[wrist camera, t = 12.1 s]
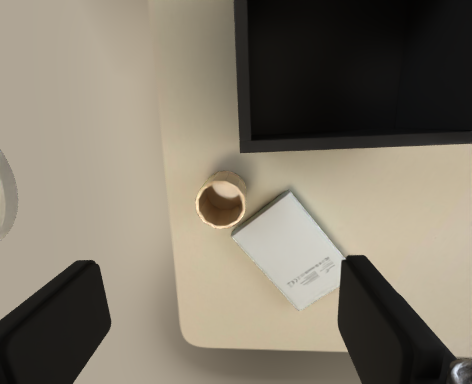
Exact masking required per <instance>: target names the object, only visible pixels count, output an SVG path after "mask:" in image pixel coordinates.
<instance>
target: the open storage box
mask: <svg viewBox="0 0 472 384" xmlns="http://www.w3.org/2000/svg"><path fill="white" fill-rule="evenodd" d="M234 22H235V46H236V70H237V93H238V117H239V140H240V153H256V152H280V151H305V150H329V149H353V148H377V147H402V146H426V145H450V144H472V0H234Z"/></svg>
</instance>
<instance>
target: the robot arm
mask: <svg viewBox="0 0 472 384" xmlns="http://www.w3.org/2000/svg"><path fill="white" fill-rule="evenodd" d="M110 327H111V318H110V313H109V308H108V304H107V299H106V294H105V290H104V285H103V280H102V276H101V272H100V267H99V265H98V264H96V263H95V261H93V260H79V261H76V262H74V263H73V264H71V265H70V266H69V267H68V268H66V269H65V270H64V271H63V272H61V273H60V274H59V275H58V276H56V277H55V278H54V279H52V280H51V281H50V282H48V283H47V284H46V285H45V286H43V287H42V288H41V289H40V290H38V291H37V292H36V293H34V294H33V295H32V296H31V297H29V298H28V299H27V300H25V301H24V302H23V303H22V304H20V305H19V306H18V307H16V308H15V309H14V310H13V311H11V312H10V313H9V314H8V315H6V316H5V317H4V318H2V319H1V320H0V384H73V382H74V381H75V380H76V378H77V377H78V375H79V374H80V372H81V371H82V369H83V368H84V366H85V365H86V364H87V362H88V361H89V359H90V357H91V356H92V355H93V353H94V352H95V350H96V349H97V347H98V346H99V345H100V343H101V342H102V340H103V339H104V337H105V336H106V334H107V333H108V331H109V330H110ZM338 327H339V331H340V333H341V336H342V338H343V340H344V343H345V345H346V347H347V350H348V352H349V354H350V357H351V359H352V361H353V364H354V366H355V368H356V371H357V373H358V375H359V377H360V380H361V382H362V384H472V359H468V358H464V359H457V358H456V357H455V356H454V355H453V354H452V353H451V352H450V350H449V349H448V348H447V347H446V346H445V345H444V344H443V343H442V341H441V340H440V339H439V338H438V337H437V336H436V335H435V333H434V332H433V331H432V330H431V329H430V328H429V327H428V325H427V324H426V323H425V322H424V321H423V320H422V319H421V318H420V316H419V315H418V314H417V313H416V312H415V311H414V310H413V308H412V307H411V306H410V305H409V304H408V303H407V302H406V300H405V299H404V298H403V297H402V296H401V295H400V294H399V293H397V292H396V291H395V289H394V288H393V287H392V286H391V285H390V284H389V283H388V281H387V280H386V279H385V278H384V277H383V276H382V275H381V273H380V272H379V271H378V270H377V269H376V268H375V267H374V265H373V264H372V263H371V262H370V261H369V260H368V258H367V257H366V256H364V255H348V256H347V257H346V259H344V260H342V261H341V274H340V290H339V306H338Z"/></svg>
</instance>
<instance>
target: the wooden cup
mask: <svg viewBox="0 0 472 384" xmlns="http://www.w3.org/2000/svg"><path fill="white" fill-rule="evenodd" d="M195 202H196V212H197V214H198V215H199V216H200V218H201V219H202V221H203V222H204V223H206V224H208V225H210V226H212V227H214V228H230V227H231V226H233V225H235V224H237V223H238V222H240V220H241V218H242V217H243V215H244V213H245V211H246V185H245V184H244V182H243V180H242V179H241V177H240V176H238V175H237V174H235V173H233V172H230V171H220V172H217V173H215V174H213V175H212V176H211V177H209V178H208V180H207V181H206V182H205V183H204V185H203V186H202V187H201V189H200V191H199V193H198V195H197V197H196V199H195Z"/></svg>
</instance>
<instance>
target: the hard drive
mask: <svg viewBox="0 0 472 384" xmlns="http://www.w3.org/2000/svg"><path fill="white" fill-rule="evenodd" d="M231 237H232V239H233V240H234V241H235V242H236V243H237V244H238V245H239V246H240V247H241V248H242V250H243V251H244V252H245V253H246V254H247V255H248V256H249V257H250V258H251V259H252V261H253V262H254V263H255V264H256V265H257V266H258V267H259V268H260V269H261V270H262V272H263V273H264V274H265V275H266V276H267V277H268V278H269V279H270V280H271V282H272V283H273V284H274V285H275V286H276V287H277V288H278V289H279V290H280V291H281V293H282V294H283V295H284V296H285V297H286V298H287V299H288V300H289V301H290V302H291V304H292V305H293V306H294V307H295V308H296V309H297V310H298V311H301V310H303V309H305V308H306V307H308V306H310V305H311V304H313V303H314V302H316V301H317V300H319V299H320V298H322V297H324V296H325V295H327V294H328V293H330V292H332V291H333V290H335V289H336V288H338V287H339V286H340V274H341V261H342V260H344V259H345V258H344V257H343V255H342V254H341V253H340V252H339V250H338V249H337V248H336V247H335V245H334V244H333V243H332V242H331V241H330V239H329V238H328V237H327V236H326V234H325V233H324V232H323V231H322V229H321V228H320V227H319V226H318V225H317V223H316V222H315V221H314V220H313V218H312V217H311V216H310V215H309V213H308V212H307V211H306V210H305V209H304V207H303V206H302V205H301V204H300V202H299V201H298V200H297V199H296V197H295V196H294V195H293V194H292V193H291V191H290V190H287V191H285V192H284V193H282V194H281V195H280V196H278V197H277V198H276V199H274V200H273V201H272V202H271V203H269V204H268V205H267V206H265V207H264V208H263V209H261V210H260V211H259V212H258V213H256V214H255V215H254V216H252V217H251V218H250V219H248V220H247V221H246V222H244V223H243V224H242V225H240V226H239V227H238V228H236V229H235V230H234V231H233V232H232V234H231Z"/></svg>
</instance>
